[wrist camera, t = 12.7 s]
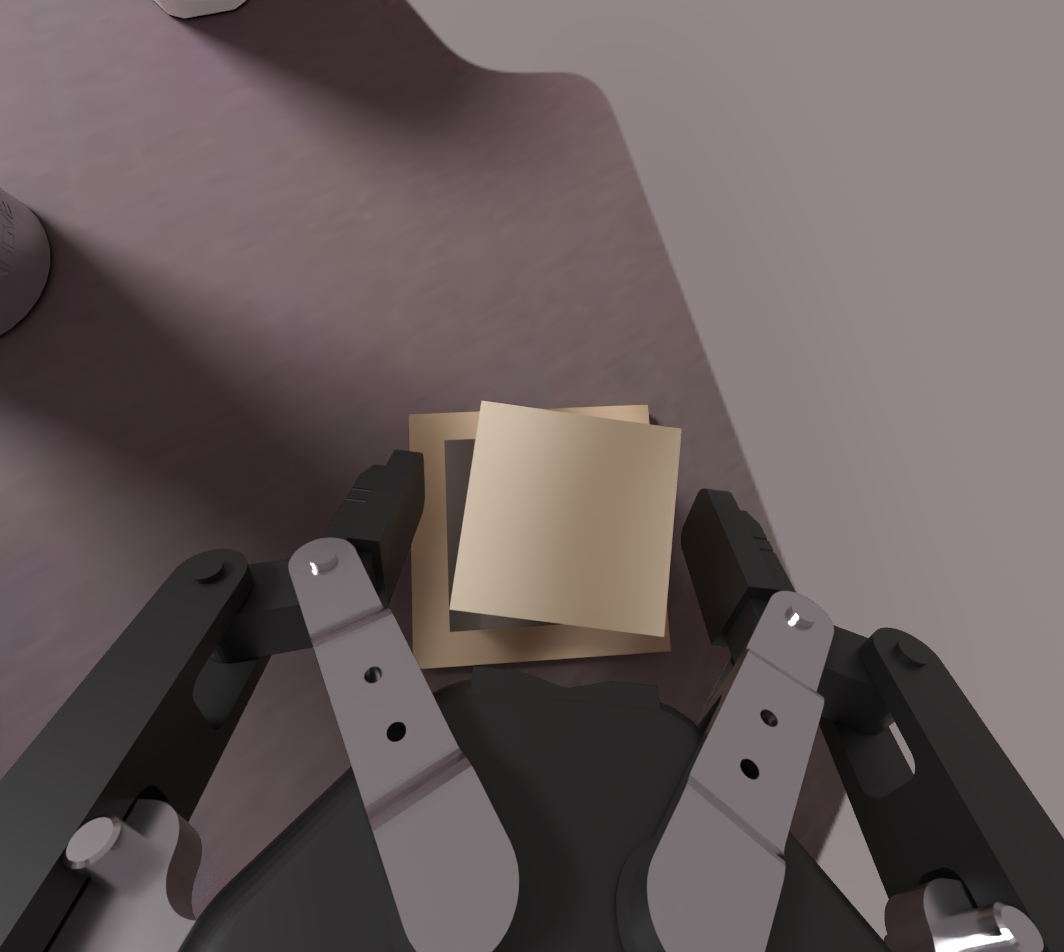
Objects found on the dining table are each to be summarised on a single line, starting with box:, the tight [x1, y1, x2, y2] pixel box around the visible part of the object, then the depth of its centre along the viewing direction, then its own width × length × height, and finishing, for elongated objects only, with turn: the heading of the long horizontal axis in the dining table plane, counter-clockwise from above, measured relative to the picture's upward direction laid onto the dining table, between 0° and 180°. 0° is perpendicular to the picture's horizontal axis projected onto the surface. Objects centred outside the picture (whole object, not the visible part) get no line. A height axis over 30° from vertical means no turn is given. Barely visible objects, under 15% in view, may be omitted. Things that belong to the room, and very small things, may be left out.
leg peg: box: [450, 401, 681, 637], centre depth 15 cm, size 4×4×13 cm
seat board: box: [409, 405, 671, 669], centre depth 20 cm, size 12×12×4 cm
